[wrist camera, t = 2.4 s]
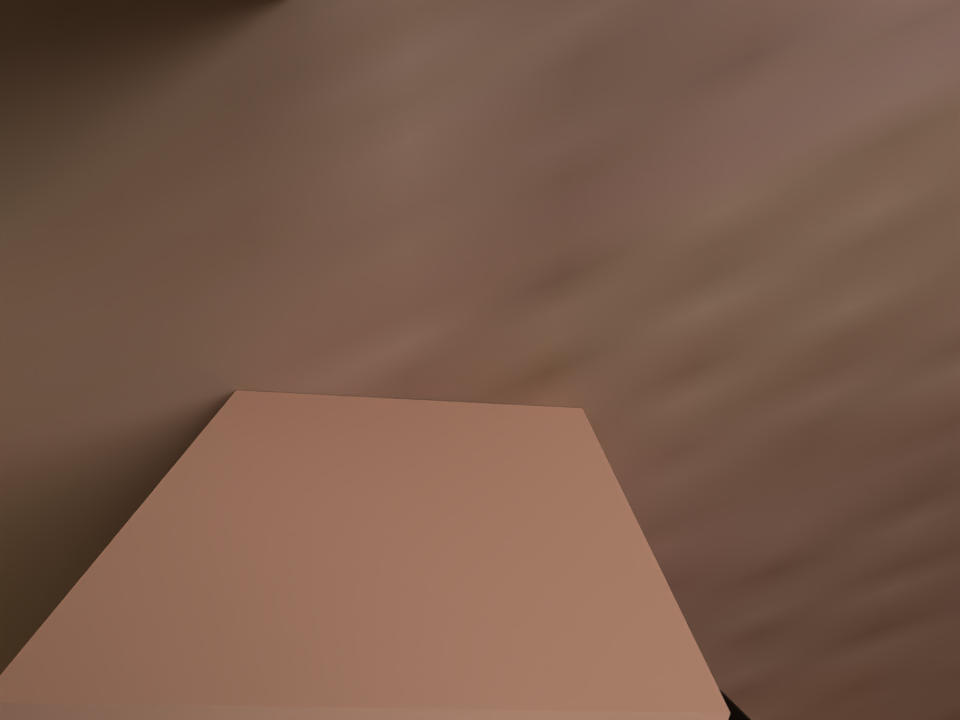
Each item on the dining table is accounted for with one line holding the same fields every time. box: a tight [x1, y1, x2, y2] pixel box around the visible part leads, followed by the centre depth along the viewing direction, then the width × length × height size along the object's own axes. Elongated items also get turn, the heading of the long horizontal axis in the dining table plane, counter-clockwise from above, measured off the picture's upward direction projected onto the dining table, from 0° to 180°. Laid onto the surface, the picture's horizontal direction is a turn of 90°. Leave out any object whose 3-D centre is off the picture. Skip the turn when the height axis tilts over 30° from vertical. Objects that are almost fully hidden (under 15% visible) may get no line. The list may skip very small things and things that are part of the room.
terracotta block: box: [0, 390, 730, 720], centre depth 7 cm, size 5×5×5 cm
